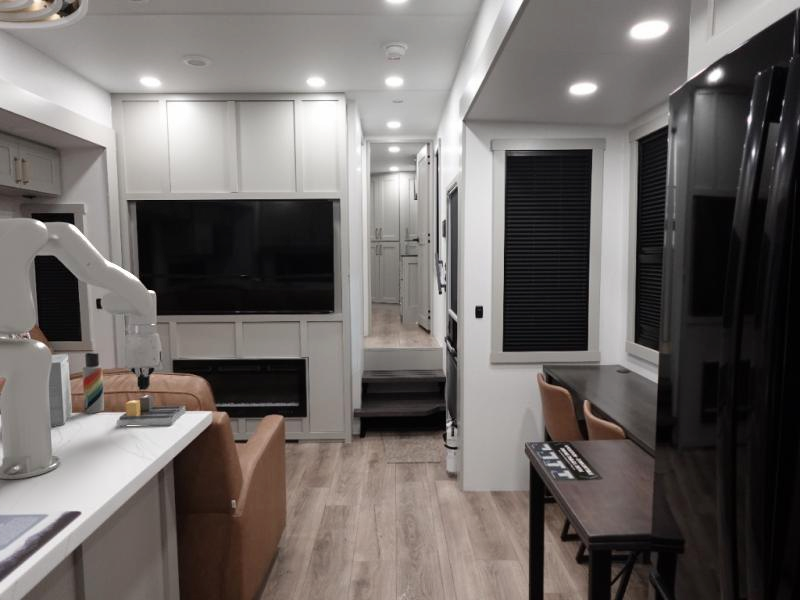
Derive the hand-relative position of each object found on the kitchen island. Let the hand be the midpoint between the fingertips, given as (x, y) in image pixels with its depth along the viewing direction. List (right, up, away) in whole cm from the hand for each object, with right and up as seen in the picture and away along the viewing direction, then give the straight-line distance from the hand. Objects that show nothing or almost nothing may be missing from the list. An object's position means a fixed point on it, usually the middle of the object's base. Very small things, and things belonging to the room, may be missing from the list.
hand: (143, 388), depth 160 cm
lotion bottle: (-23, -10, +14) cm, 29 cm away
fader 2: (-3, -8, +7) cm, 11 cm away
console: (+1, -11, +5) cm, 11 cm away
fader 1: (-4, -9, +1) cm, 9 cm away
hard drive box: (-30, -11, +4) cm, 33 cm away
